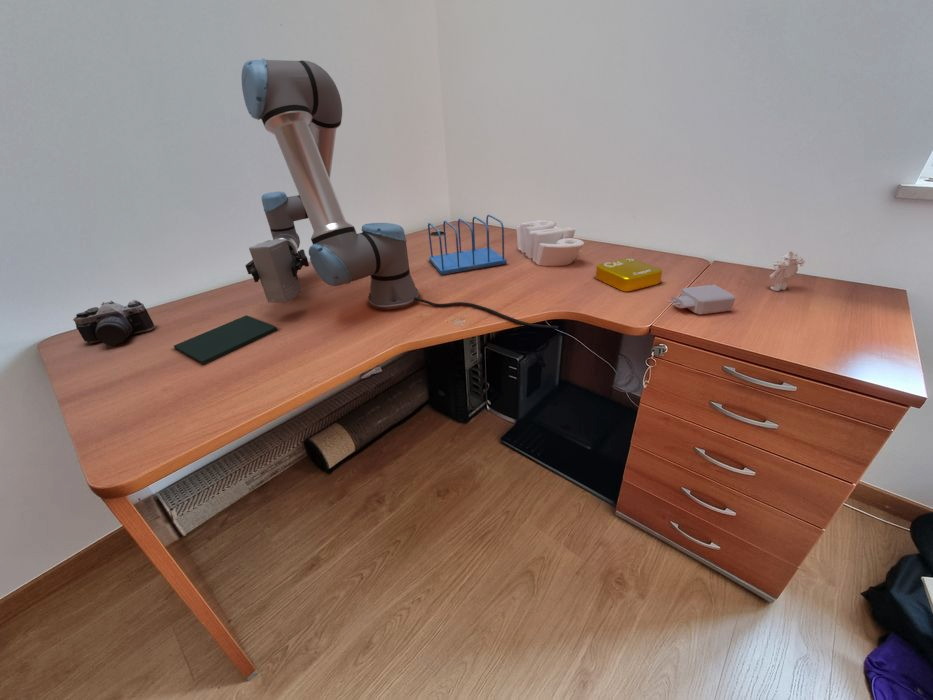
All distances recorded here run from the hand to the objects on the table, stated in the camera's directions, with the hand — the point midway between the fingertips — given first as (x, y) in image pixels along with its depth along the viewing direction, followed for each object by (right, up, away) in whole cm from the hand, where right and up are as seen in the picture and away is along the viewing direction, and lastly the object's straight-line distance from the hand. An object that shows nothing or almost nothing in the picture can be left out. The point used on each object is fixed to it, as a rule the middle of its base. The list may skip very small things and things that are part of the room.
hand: (274, 274), depth 105 cm
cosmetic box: (-1, -5, +8) cm, 10 cm away
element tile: (+103, +2, +22) cm, 105 cm away
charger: (+114, -9, +3) cm, 114 cm away
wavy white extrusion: (+82, +17, +48) cm, 97 cm away
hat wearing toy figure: (+143, -2, +11) cm, 144 cm away
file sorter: (+51, +13, +44) cm, 69 cm away
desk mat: (-13, -17, +1) cm, 21 cm away
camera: (-44, -17, +3) cm, 47 cm away
